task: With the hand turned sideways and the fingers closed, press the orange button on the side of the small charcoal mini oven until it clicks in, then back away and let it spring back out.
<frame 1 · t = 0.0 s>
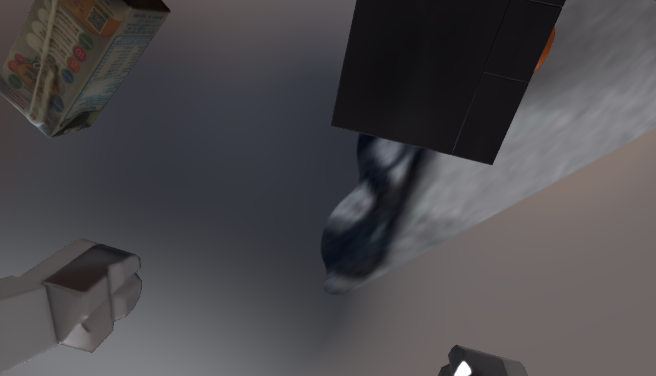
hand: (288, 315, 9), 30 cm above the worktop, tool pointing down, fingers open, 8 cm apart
beverage carton: (104, 47, 39), on the worktop
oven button: (517, 44, 26), point 7 cm above the worktop, slide at 0.1 cm
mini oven: (429, 27, 32), on the worktop
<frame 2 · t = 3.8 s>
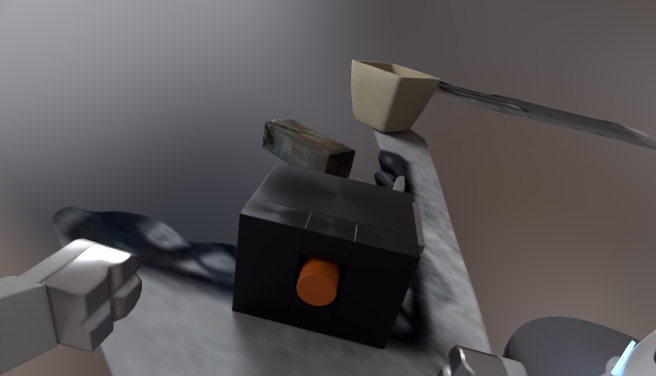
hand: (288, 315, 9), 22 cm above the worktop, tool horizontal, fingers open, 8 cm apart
beverage carton: (303, 163, 71), on the worktop
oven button: (319, 278, 32), point 7 cm above the worktop, slide at 0.1 cm
flower pot: (381, 125, 107), on the worktop
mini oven: (317, 288, 40), on the worktop
knife: (397, 198, 65), on the worktop
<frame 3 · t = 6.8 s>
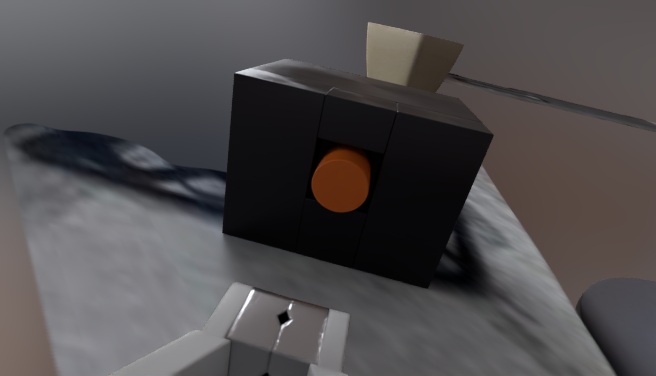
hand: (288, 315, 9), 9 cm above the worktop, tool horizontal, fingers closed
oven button: (343, 177, 23), point 7 cm above the worktop, slide at 0.1 cm
flower pot: (397, 97, 98), on the worktop
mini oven: (334, 220, 31), on the worktop
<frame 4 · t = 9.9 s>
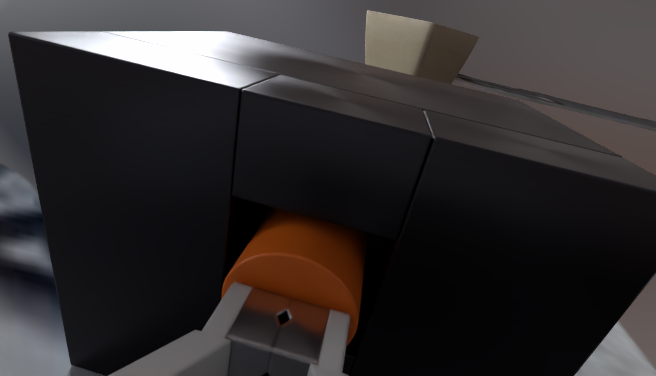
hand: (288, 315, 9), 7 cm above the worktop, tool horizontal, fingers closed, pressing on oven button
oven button: (302, 272, 10), point 7 cm above the worktop, slide at -0.4 cm, touching gripper
flower pot: (401, 98, 85), on the worktop
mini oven: (304, 309, 18), on the worktop
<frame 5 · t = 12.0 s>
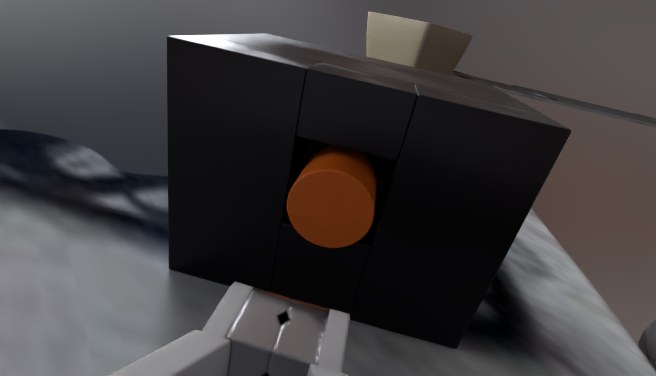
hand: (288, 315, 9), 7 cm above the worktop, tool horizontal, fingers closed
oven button: (335, 193, 15), point 7 cm above the worktop, slide at 0.1 cm
flower pot: (400, 93, 91), on the worktop
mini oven: (327, 245, 24), on the worktop
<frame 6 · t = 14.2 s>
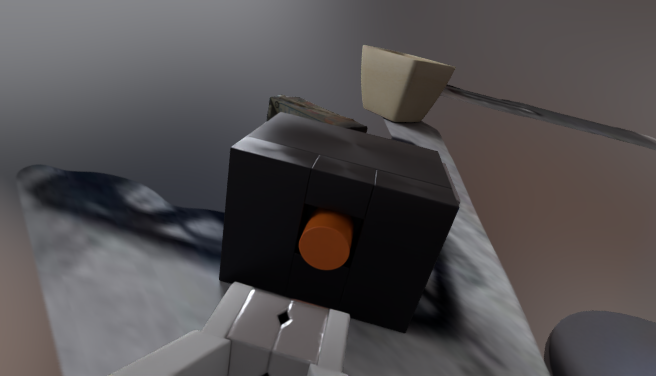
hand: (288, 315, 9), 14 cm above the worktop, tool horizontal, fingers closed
beverage carton: (310, 142, 65), on the worktop
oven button: (327, 236, 25), point 7 cm above the worktop, slide at 0.1 cm
flower pot: (391, 116, 101), on the worktop
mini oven: (323, 262, 34), on the worktop
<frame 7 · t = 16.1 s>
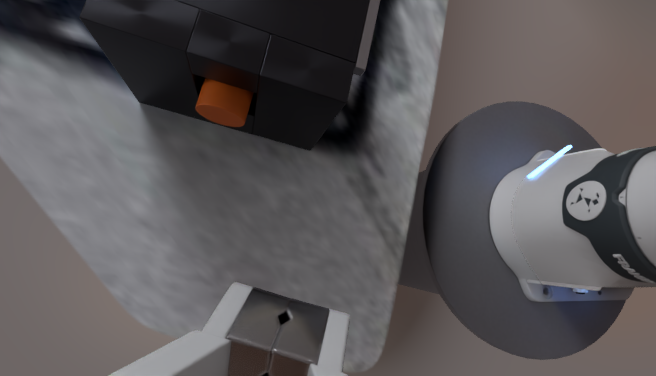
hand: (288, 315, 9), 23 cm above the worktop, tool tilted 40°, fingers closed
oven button: (226, 96, 26), point 7 cm above the worktop, slide at 0.1 cm
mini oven: (245, 71, 34), on the worktop
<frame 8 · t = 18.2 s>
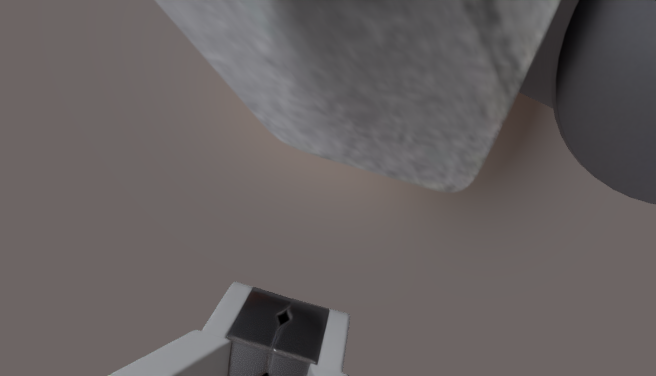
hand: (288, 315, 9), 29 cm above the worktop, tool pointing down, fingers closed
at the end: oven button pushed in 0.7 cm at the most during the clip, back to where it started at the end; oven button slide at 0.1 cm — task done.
